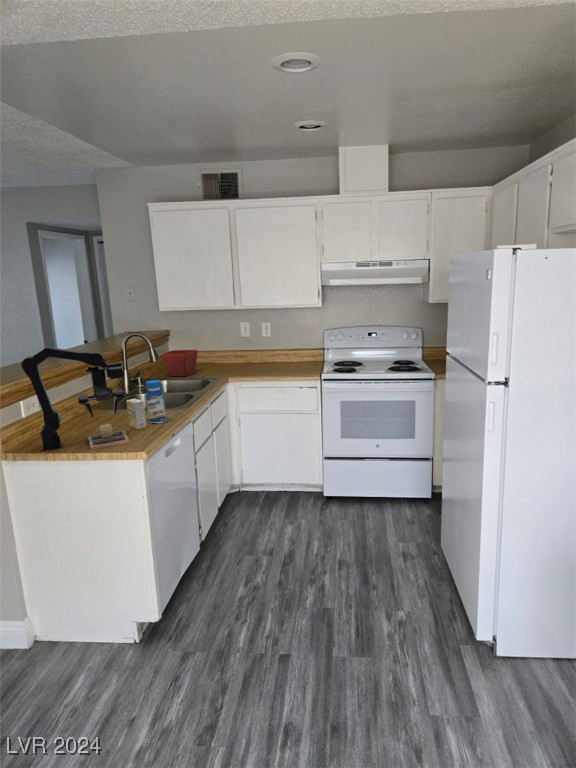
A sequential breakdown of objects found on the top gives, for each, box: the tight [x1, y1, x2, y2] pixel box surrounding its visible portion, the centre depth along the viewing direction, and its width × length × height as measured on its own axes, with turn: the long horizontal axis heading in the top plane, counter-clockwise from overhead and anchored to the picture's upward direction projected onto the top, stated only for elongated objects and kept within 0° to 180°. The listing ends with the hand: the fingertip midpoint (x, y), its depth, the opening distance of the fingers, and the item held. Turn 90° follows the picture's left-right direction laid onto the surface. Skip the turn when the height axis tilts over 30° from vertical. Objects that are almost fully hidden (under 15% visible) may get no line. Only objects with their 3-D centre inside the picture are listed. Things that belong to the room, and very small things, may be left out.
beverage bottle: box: [145, 379, 167, 424], centre depth 241 cm, size 8×8×20 cm
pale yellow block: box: [99, 423, 114, 439], centre depth 221 cm, size 4×4×6 cm
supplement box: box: [125, 398, 147, 431], centre depth 235 cm, size 8×5×13 cm, turn 44°
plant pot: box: [160, 349, 198, 377], centre depth 358 cm, size 19×19×17 cm
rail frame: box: [87, 429, 130, 451], centre depth 218 cm, size 15×17×1 cm
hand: (104, 415), depth 219 cm, fingers open, 9 cm apart
